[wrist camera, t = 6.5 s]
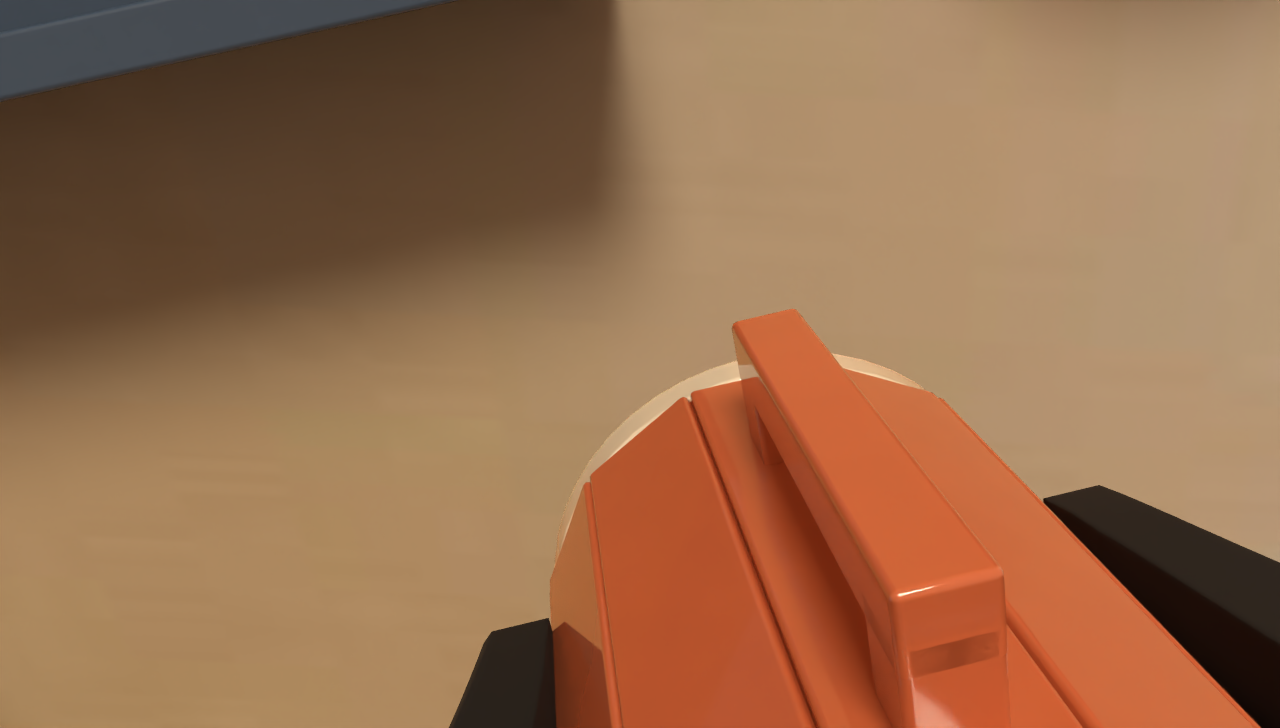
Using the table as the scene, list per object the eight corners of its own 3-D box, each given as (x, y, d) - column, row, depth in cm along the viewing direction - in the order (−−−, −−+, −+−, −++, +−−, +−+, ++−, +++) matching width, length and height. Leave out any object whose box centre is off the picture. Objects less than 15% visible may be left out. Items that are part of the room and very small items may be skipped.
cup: (608, 765, 12) (689, 1519, 6) (475, 315, 10) (397, 877, 4) (999, 670, 12) (1437, 1319, 6) (971, 200, 10) (1665, 561, 4)
